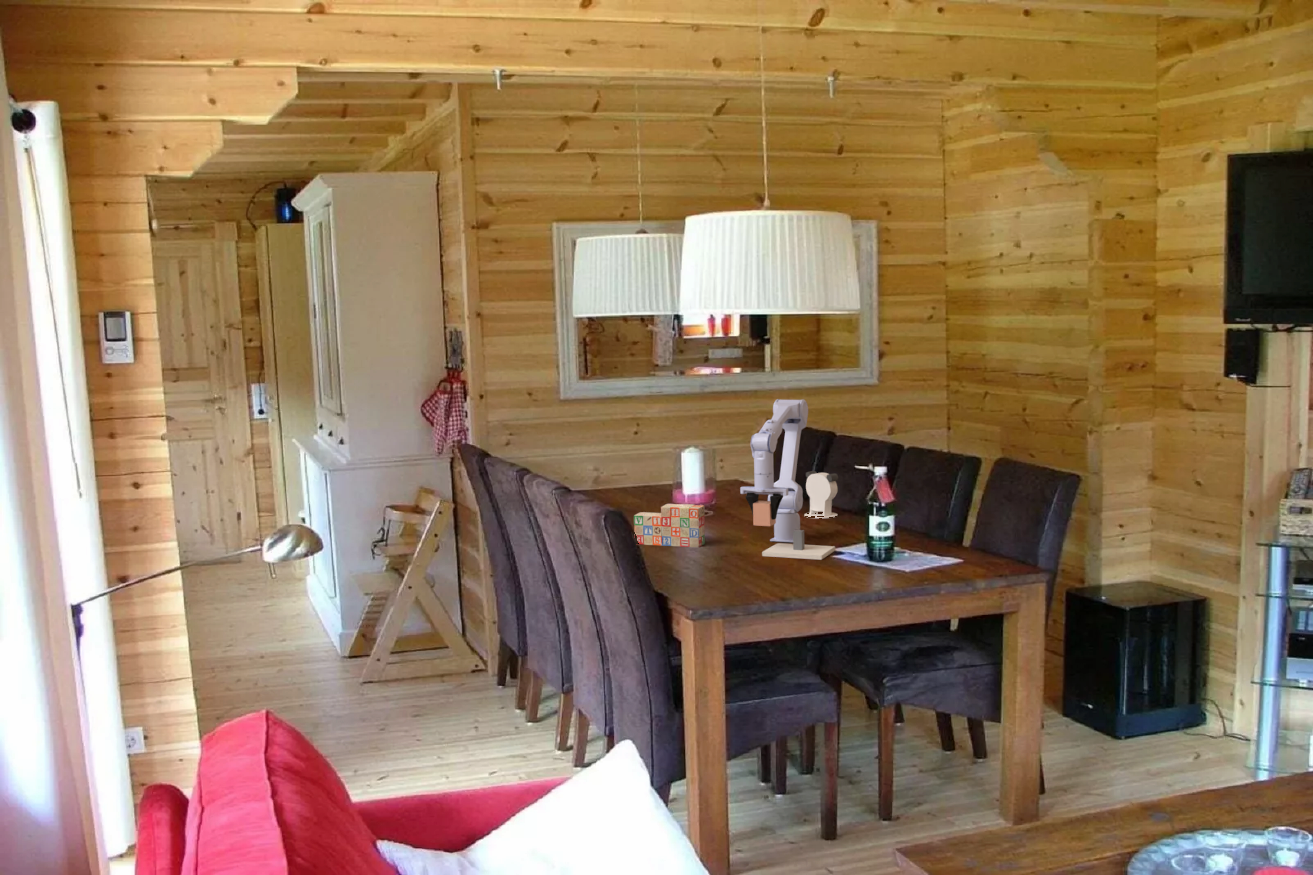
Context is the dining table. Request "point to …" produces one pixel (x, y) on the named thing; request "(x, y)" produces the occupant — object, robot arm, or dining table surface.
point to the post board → (798, 549)
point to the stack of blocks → (672, 526)
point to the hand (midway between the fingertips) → (764, 518)
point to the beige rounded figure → (821, 493)
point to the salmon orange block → (762, 514)
